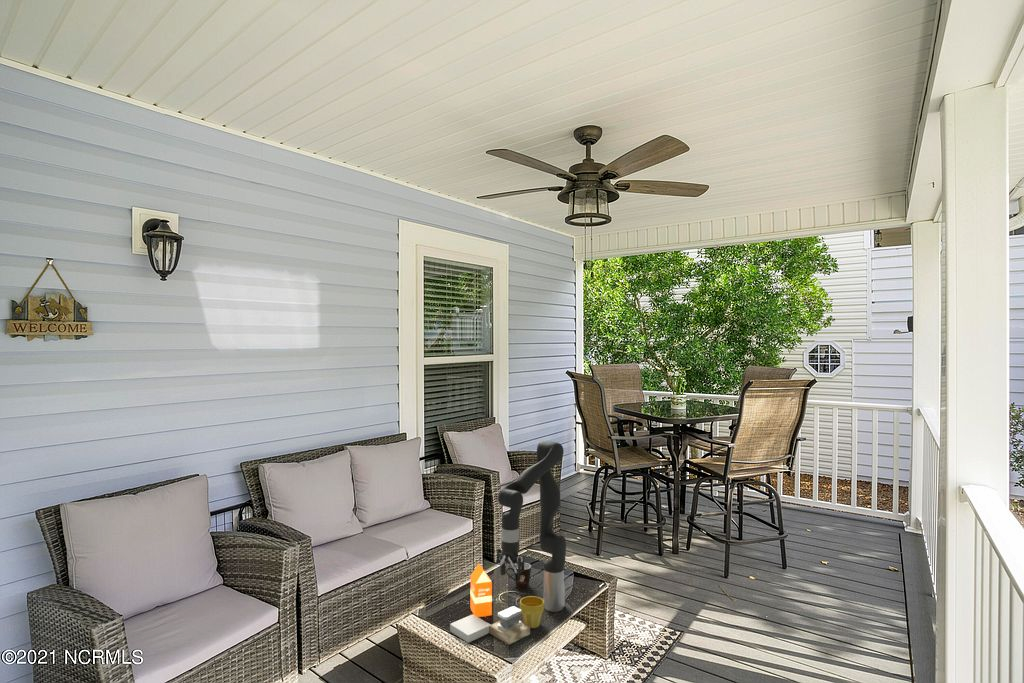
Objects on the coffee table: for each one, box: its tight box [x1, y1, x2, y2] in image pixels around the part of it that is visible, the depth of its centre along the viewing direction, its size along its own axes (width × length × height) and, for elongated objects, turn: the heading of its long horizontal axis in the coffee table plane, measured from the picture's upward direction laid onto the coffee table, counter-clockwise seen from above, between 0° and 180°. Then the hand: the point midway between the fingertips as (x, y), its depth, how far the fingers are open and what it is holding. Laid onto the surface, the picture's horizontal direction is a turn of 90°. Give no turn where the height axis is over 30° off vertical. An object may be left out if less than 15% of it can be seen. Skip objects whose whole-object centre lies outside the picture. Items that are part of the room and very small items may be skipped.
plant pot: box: [519, 595, 545, 629], centre depth 228 cm, size 10×10×10 cm
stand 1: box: [449, 613, 491, 643], centre depth 222 cm, size 12×12×3 cm
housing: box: [497, 605, 523, 632], centre depth 221 cm, size 9×5×6 cm, turn 133°
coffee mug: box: [506, 562, 532, 590], centre depth 265 cm, size 12×9×10 cm
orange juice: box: [469, 562, 493, 618], centre depth 239 cm, size 8×9×20 cm
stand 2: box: [488, 620, 531, 646], centre depth 221 cm, size 12×12×3 cm
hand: (510, 577), depth 221 cm, fingers open, 8 cm apart
